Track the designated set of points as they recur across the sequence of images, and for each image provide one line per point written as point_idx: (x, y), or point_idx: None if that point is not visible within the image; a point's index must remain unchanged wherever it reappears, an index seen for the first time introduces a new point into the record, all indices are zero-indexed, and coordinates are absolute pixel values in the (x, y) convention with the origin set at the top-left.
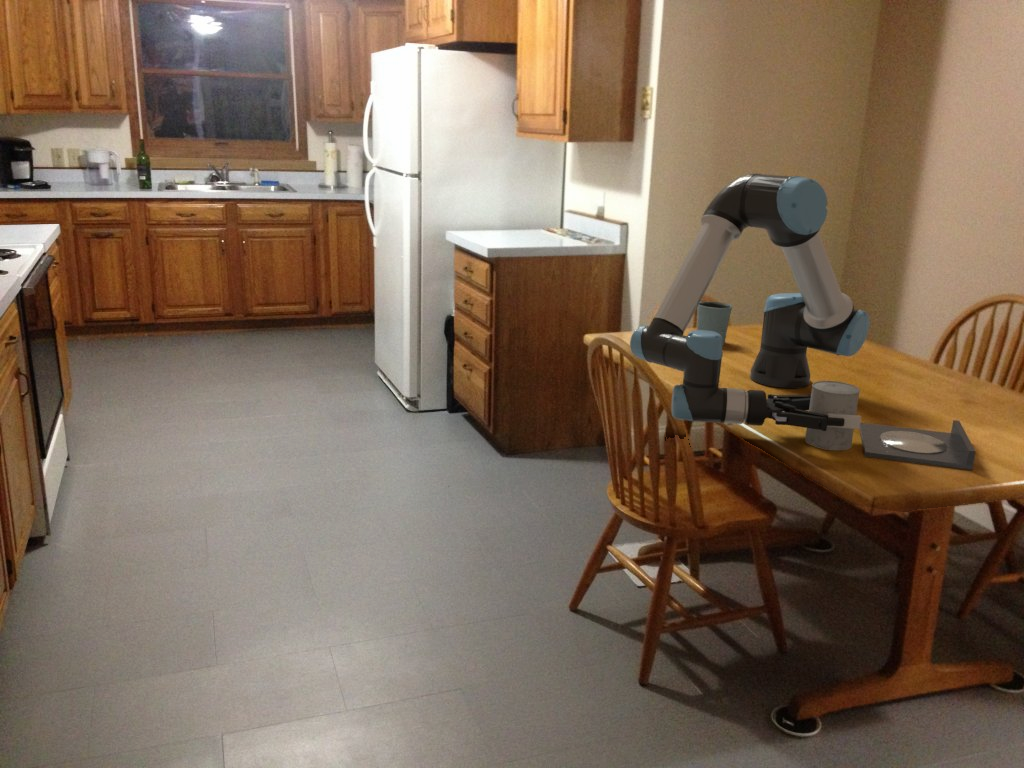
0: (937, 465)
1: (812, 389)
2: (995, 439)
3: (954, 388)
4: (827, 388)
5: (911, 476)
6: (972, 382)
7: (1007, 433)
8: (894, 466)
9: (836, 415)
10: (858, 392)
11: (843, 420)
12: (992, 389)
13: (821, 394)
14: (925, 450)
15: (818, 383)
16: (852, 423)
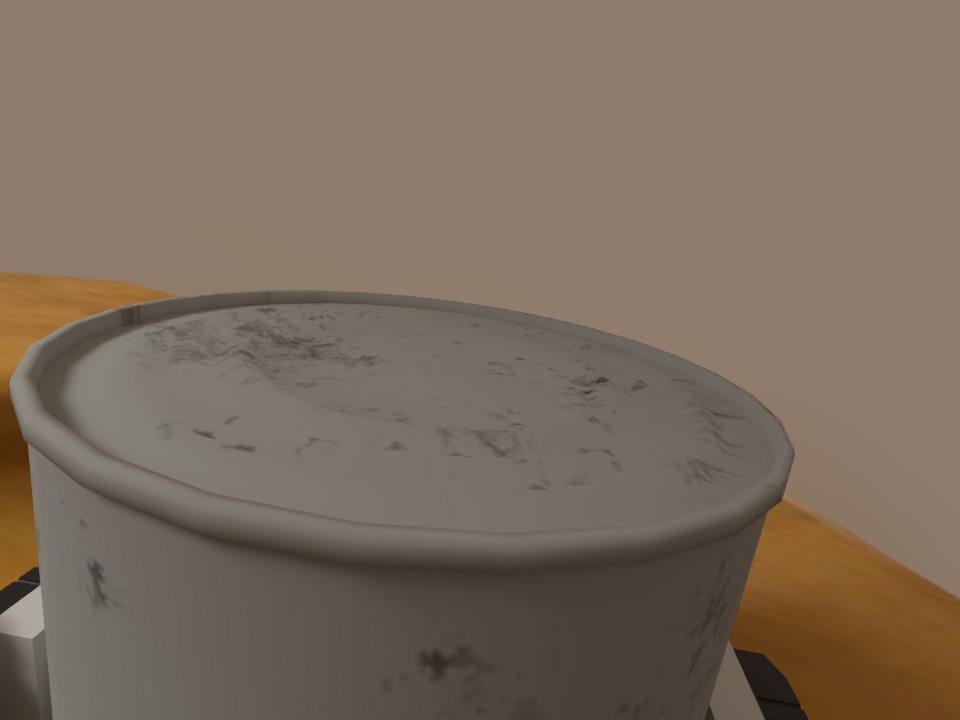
0: None
1: (302, 620)
2: None
3: (6, 295)
4: (442, 413)
5: (857, 635)
6: (4, 277)
7: None
8: (751, 647)
9: (743, 689)
10: (589, 329)
11: (772, 671)
12: (73, 282)
13: (704, 592)
14: None
15: (95, 398)
16: None
